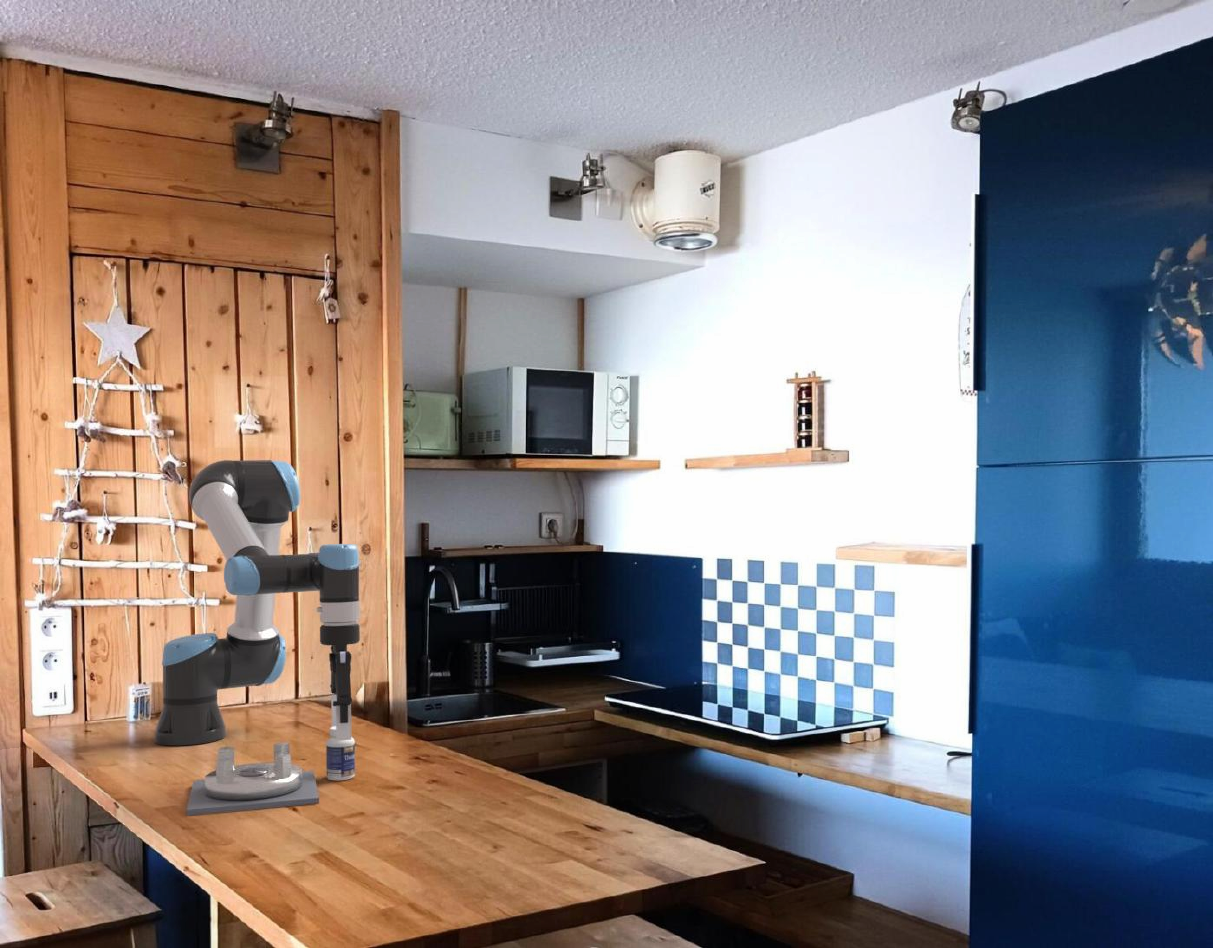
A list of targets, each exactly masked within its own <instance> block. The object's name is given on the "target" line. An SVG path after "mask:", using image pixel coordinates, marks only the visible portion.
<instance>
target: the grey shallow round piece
mask: <svg viewBox="0 0 1213 948" xmlns="http://www.w3.org/2000/svg"><path fill="white" fill-rule="evenodd" d="M217 754H218V755H217V760H216V761H215V763H216V764H215V765H216V767H215V768H216V770H214V771H211V772H209V773H207V774H206V775H205V776H204V780H205V794H206V795H207V796H210V797H213V798H217V799H225V800H248V799H259V798H267V797H273V796H278V795H282V794H285V793H289V792H292V791H294V790H296V789H298V788H299V787H301V785H302V772H303V768H302V767H301V766H299V765H295V764H292V757H291V755H292V754H291V753H290V743H288V742H279V743H275V744H273V762H255V763H254V762H253V763H245V764H239V765H235V747H231V746H224V747H220V748H218V750H217Z"/></svg>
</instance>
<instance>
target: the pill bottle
mask: <svg viewBox="0 0 1213 948" xmlns="http://www.w3.org/2000/svg"><path fill="white" fill-rule="evenodd" d="M329 736H330V738H329V739H327V741H326V743H325V745H326V754H325V756H326V758H325V759H326V771H325V773H326V779H328V780H330V781H335V782H336V781H338V782H339V781H347V780H351V779H353V778H354V777H355V776H356V756H355V755H356V752H355V751H356V749H355V748H356V745H355V744H356V742H355V739H354V738H353V737H352V736H351V740H341V741H337V740H336V726H333V727H332V726H331V727H330V728H329Z"/></svg>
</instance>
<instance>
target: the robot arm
mask: <svg viewBox="0 0 1213 948" xmlns="http://www.w3.org/2000/svg"><path fill="white" fill-rule="evenodd" d="M188 500H189V504H190V507H191V509H192V511H193V512H194V514H195V516H197V517H198V519H201V520H202V521H204V522H205V524H206V526H207V527H208V530H209V531H210V533H211V534H212V536H213V538H214V540H215V542H216V544H217V545H218V548H219V549H220V551H221V553H222V554H223V556H224V558H225V560H226V561H225V564H224V569H223V581H224V583H225V589H226V591H227V592H228V593H229V594H230V595H232V596H236V597H235V598H236V600H235V610H234V611H235V613H234V622H233V623H231V624H230V625H228V627H227V628H226V637H225V638H218V635H217V634H216V633H213V632H205V633H204V632H203V633H196V634H190V635H186V636H185V635H184V636H180V637H177V638H174V639H171V640H169V641H168V642H166V643H165V644H164V647H163V651H162V661H161V665H162V710H161V713H160V715H159V718H158V721H157V725H156V727H155V731H154V743H155V744H158V745H161V746H162V745H164V746H191V745H200V744H208V743H212V742H215V741H218V740H221V739H223V738H225V737H226V734H227V733H226V724H225V721H224V718H223V715H222V713H221V709H220V707H219V704H218V691H219V690H227V689H235V688H236V689H237V688H245V687H247V688H249V687H261V686H262V685H268V684H272V683H275V682H276V681H277V680H278V679H279V678H280V677H281V675H282V673H283V671H284V668H285V666H286V660H287V659H286V657H287V650H286V647H287V645H286V641H285V638H284V637H283V636H282V635H281V634H279V628H278V627H276V625H275V624H274V615H275V614H274V611H275V600H276V594H285V593H287V594H288V593H304V592H305V593H306V592H319V605H320V606H317V607H316V612H317V613H319V623H320V622H321V624H322V625H320V627H319V642H320V644H321V645H322V646H330V651H331V652H329V654H328V655H329V656H328V657H329V668H330V672H331V673H330V687H329V688H330V692H331V694H330V696H331V697H330V699H331V700H330V701H331V727H333V726H336V740H337V741H341V740H351V737H352V704H351V703H352V702H353V698H352V687H351V686H352V685H351V684H352V683H351V671H352V666H351V664H352V663H351V662H352V654H351V652H350V651H348V645H355V644H359V643H360V639H361V636H360V635H361V634H360V633H361V631H360V627H361V626H360V625H359V623H358V622H359V621H360V618H361V613H360V612H361V610H360V609H361V608H360V606H361V603H360V587H359V586H360V559H359V549H358V546H357V545H356V544H353V543H339V544H338V543H336V544H335V543H332V544H330V543H329V544H322V545H321V546H320V547H319V548H318V552H309V553H305V554H304V553H298V554H279V553H280V544H281V543H280V540H281V530H282V529H281V528H282V527H283V526H284V525H285V524H287V523H288V522H289V517H290V513H293V512H295V511H297V510H298V508H299V506H300V502H301V491H300V483H299V479H298V476H297V473H296V470H295V469H294V467H293V466H292V465H291V464H290V463H288V462H287V461H280V460H279V461H278V460H271V459H265V460H261V459H260V460H259V459H258V460H254V459H253V460H230V459H228V460H227V459H224V460H219V461H214V462H212V463H211V464H208V465H207V466H205V467H204V468H202V469H201V470H200V471H199V472H198V473H197V474H196V475H195V477H194V478H193V480H192V481H191V485H190V487H189V491H188Z"/></svg>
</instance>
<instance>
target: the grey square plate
mask: <svg viewBox="0 0 1213 948" xmlns="http://www.w3.org/2000/svg"><path fill="white" fill-rule="evenodd" d="M315 776H316V775H315V772H314V770H306V771H303V770H302V785H301V787H299V788H298V789H296V790H294V791H292V792H289V793H285V794H282V795H278V796H273V797H267V798H259V799H248V800H225V799H217V798H213V797H210V796H207V795H206V794H205V779H199V780H193V781H192V784H191V785H192V787H191V788H190V789H191V790H190V792H189V793H190V794H189V799H188V802H187V806H186V816H188V817H189V816H198V815H209V814H219V813H221V814H222V813H231V812H242V811H252V810H262V809H274V808H285V807H286V808H287V807H294V806H305V805H315V804H316V805H317V804H320V796H319V791H318V786H317V782H316V777H315Z"/></svg>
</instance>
